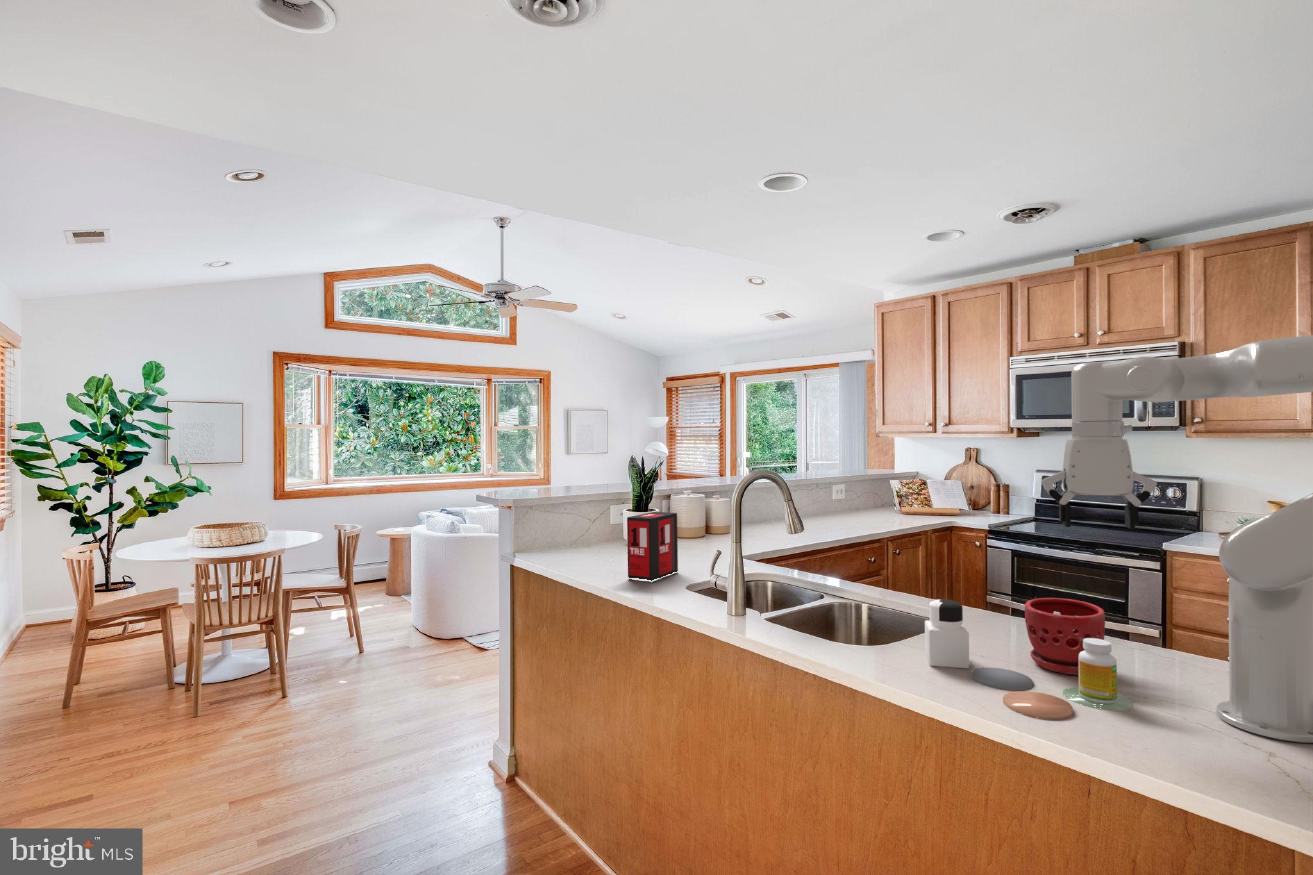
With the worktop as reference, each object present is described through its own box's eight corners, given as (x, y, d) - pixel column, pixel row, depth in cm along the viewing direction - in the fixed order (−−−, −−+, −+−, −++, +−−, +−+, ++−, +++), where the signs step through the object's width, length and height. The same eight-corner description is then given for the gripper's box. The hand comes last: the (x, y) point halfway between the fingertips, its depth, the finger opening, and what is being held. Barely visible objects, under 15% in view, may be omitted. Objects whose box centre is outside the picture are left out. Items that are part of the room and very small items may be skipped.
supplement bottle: (1119, 707, 107) (1118, 648, 107) (1080, 701, 110) (1079, 643, 110) (1114, 695, 112) (1114, 639, 112) (1077, 690, 114) (1076, 634, 114)
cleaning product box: (655, 570, 221) (654, 511, 221) (677, 573, 217) (677, 513, 217) (627, 579, 207) (627, 517, 207) (651, 582, 203) (650, 518, 203)
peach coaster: (1041, 693, 114) (1040, 688, 114) (1088, 716, 104) (1087, 711, 104) (989, 699, 112) (989, 694, 112) (1032, 723, 102) (1032, 717, 102)
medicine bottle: (962, 657, 132) (961, 598, 132) (969, 669, 125) (968, 607, 125) (924, 654, 134) (924, 596, 134) (929, 666, 127) (928, 605, 127)
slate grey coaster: (1025, 674, 123) (1025, 670, 123) (1039, 694, 114) (1039, 690, 114) (967, 669, 126) (967, 665, 126) (976, 688, 116) (976, 684, 116)
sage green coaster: (1098, 689, 117) (1098, 684, 117) (1148, 712, 107) (1148, 707, 107) (1048, 693, 115) (1048, 689, 115) (1094, 717, 105) (1094, 712, 105)
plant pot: (1018, 653, 134) (1017, 595, 134) (1092, 659, 130) (1091, 599, 130) (1034, 676, 121) (1033, 611, 121) (1116, 683, 117) (1115, 617, 117)
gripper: (1148, 431, 117) (1149, 526, 117) (1037, 432, 123) (1038, 522, 123) (1163, 431, 110) (1164, 532, 110) (1045, 432, 116) (1046, 528, 116)
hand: (1097, 527), depth 117 cm, fingers open, 9 cm apart
